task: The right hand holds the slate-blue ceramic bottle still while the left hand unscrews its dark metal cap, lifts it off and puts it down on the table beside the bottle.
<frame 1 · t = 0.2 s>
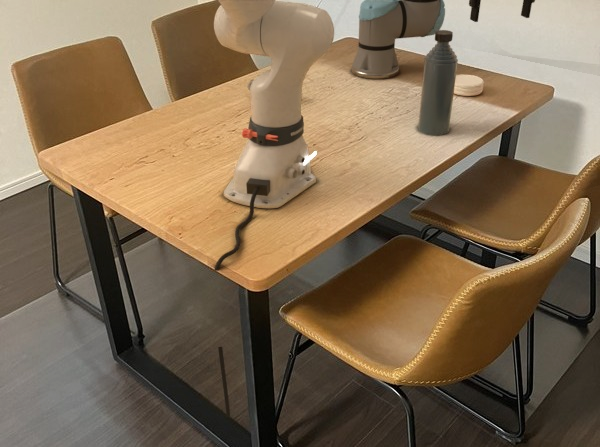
right hand: (499, 18, 151), 28 cm above the table, tool pointing down, fingers open, 13 cm apart
rock: (272, 99, 184), on the table
cream round disc: (465, 91, 188), on the table
cap: (444, 33, 151), point 25 cm above the table, screwed on, not yet turned
bottle: (433, 129, 165), on the table
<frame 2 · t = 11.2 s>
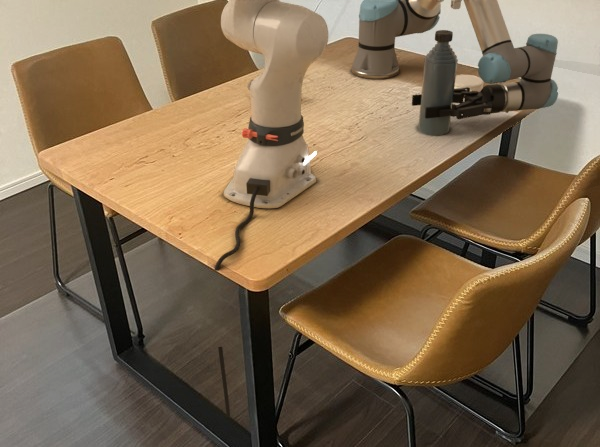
left hand: (447, 4, 148), 32 cm above the table, tool pointing down, fingers open, 6 cm apart
right hand: (419, 106, 160), 7 cm above the table, tool horizontal, fingers closed on bottle, 8 cm apart
bottle: (433, 129, 165), on the table, touching right hand
everything else where it was.
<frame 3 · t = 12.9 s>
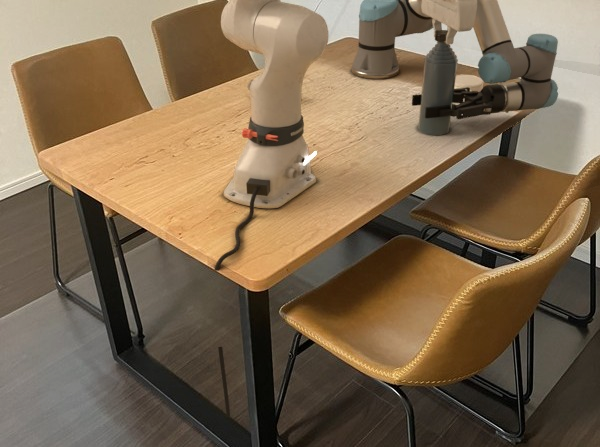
left hand: (443, 40, 152), 23 cm above the table, tool pointing down, fingers closed on cap, 4 cm apart
right hand: (419, 106, 160), 7 cm above the table, tool horizontal, fingers closed on bottle, 8 cm apart
cap: (444, 33, 151), point 25 cm above the table, screwed on, not yet turned, touching left hand
bottle: (433, 129, 165), on the table, touching right hand
everything else where it was.
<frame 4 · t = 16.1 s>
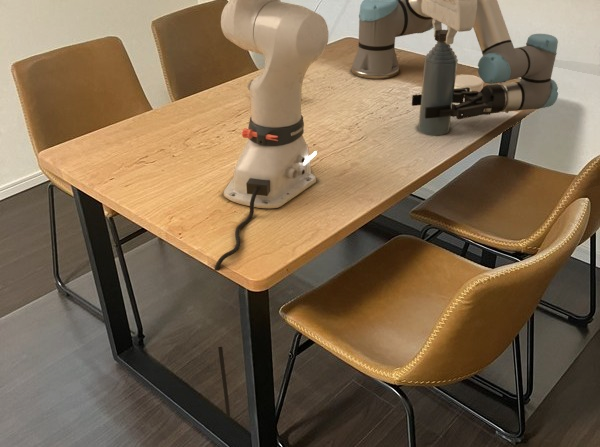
left hand: (443, 40, 152), 23 cm above the table, tool pointing down, fingers closed on cap, 4 cm apart
right hand: (419, 106, 160), 7 cm above the table, tool horizontal, fingers closed on bottle, 8 cm apart
cap: (444, 33, 151), point 25 cm above the table, turned 73° so far, risen 0.1 cm, still on its thread, touching left hand
bottle: (433, 129, 165), on the table, touching right hand
everything else where it was.
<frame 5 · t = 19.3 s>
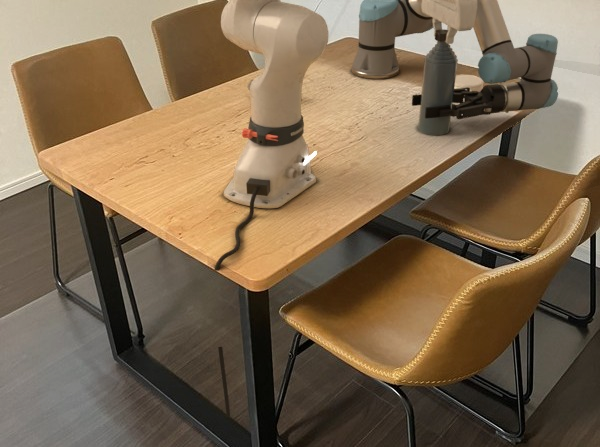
left hand: (443, 40, 152), 24 cm above the table, tool pointing down, fingers closed on cap, 4 cm apart
right hand: (419, 106, 160), 7 cm above the table, tool horizontal, fingers closed on bottle, 8 cm apart
cap: (444, 32, 151), point 25 cm above the table, turned 146° so far, risen 0.1 cm, still on its thread, touching left hand
bottle: (433, 129, 165), on the table, touching right hand
everything else where it was.
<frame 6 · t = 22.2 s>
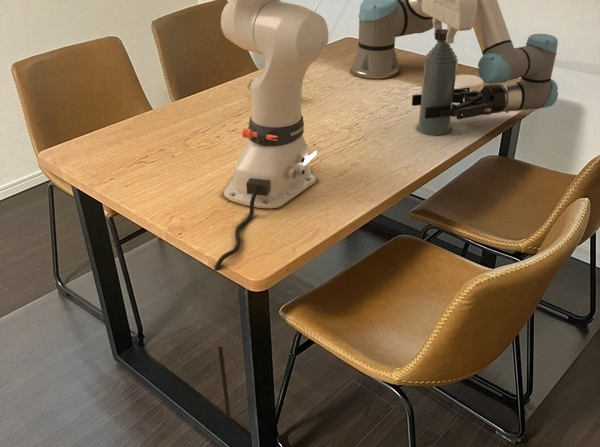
left hand: (443, 40, 152), 24 cm above the table, tool pointing down, fingers closed on cap, 4 cm apart
right hand: (419, 106, 160), 7 cm above the table, tool horizontal, fingers closed on bottle, 8 cm apart
cap: (444, 32, 151), point 25 cm above the table, turned 219° so far, risen 0.2 cm, still on its thread, touching left hand
bottle: (433, 129, 165), on the table, touching right hand
everything else where it was.
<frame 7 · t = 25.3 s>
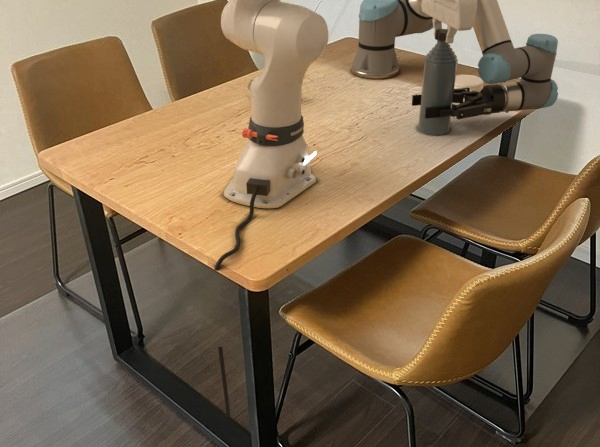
left hand: (443, 39, 152), 24 cm above the table, tool pointing down, fingers closed on cap, 4 cm apart
right hand: (419, 106, 160), 7 cm above the table, tool horizontal, fingers closed on bottle, 8 cm apart
cap: (444, 32, 151), point 25 cm above the table, turned 292° so far, risen 0.3 cm, still on its thread, touching left hand
bottle: (433, 129, 165), on the table, touching right hand
everything else where it was.
when the left hand's fingers open (2 cm above the table, at t = 36.3 s): cap drops 2 cm, point 2 cm above the table.
when the right hand's fingers open (7 cm above the table, at t = 37.5 s): bottle stays where it is, on the table.
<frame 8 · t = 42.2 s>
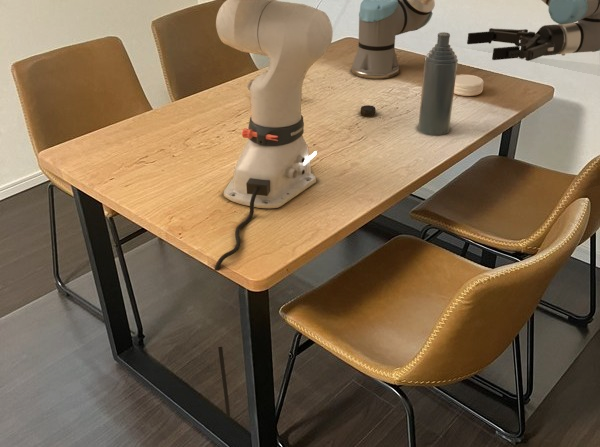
right hand: (480, 46, 155), 21 cm above the table, tool horizontal, fingers open, 13 cm apart
cap: (368, 109, 173), point 2 cm above the table, off its thread
bottle: (433, 129, 165), on the table
everything else where it was.
at the end: cap came off its thread; cap point 1.6 cm above the table; the left hand is holding nothing; the right hand is holding nothing; bottle tilted 0°; bottle moved 0.0 cm from its start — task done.
